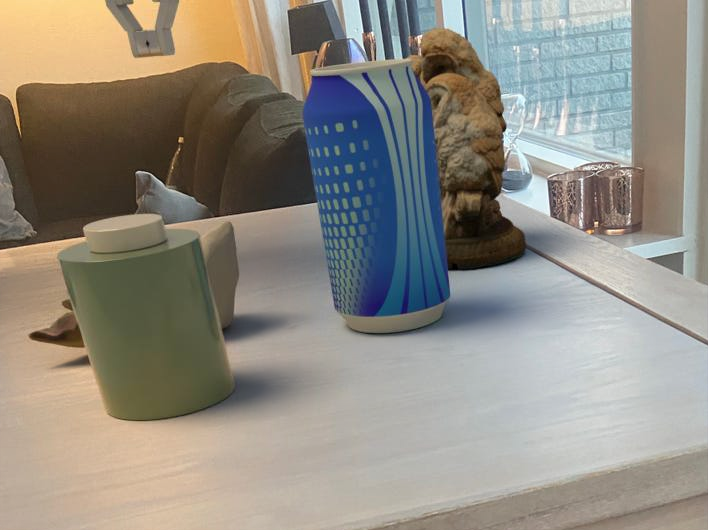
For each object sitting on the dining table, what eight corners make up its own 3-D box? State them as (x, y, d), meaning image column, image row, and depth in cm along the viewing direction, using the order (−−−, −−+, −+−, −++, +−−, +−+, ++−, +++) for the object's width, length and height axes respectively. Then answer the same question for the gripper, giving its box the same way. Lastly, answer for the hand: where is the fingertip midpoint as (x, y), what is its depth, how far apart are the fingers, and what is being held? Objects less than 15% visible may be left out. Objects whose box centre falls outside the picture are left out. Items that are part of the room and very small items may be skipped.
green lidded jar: (83, 423, 57) (22, 242, 51) (134, 377, 63) (86, 213, 58) (211, 416, 56) (164, 232, 50) (250, 371, 62) (212, 203, 57)
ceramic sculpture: (216, 209, 62) (-11, 251, 62) (253, 341, 67) (42, 380, 67) (232, 186, 71) (34, 222, 71) (264, 304, 76) (78, 338, 76)
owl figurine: (355, 246, 92) (324, 37, 82) (463, 224, 96) (445, 23, 86) (436, 279, 78) (410, 34, 69) (558, 252, 82) (549, 18, 73)
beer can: (315, 323, 70) (271, 73, 61) (407, 297, 75) (377, 58, 66) (380, 344, 65) (341, 71, 56) (475, 314, 69) (453, 55, 60)
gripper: (-56, -163, 66) (11, 68, 74) (227, -192, 64) (267, 49, 72) (-10, -153, 71) (49, 62, 79) (254, -179, 69) (288, 45, 77)
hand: (154, 56), depth 76 cm, fingers closed
